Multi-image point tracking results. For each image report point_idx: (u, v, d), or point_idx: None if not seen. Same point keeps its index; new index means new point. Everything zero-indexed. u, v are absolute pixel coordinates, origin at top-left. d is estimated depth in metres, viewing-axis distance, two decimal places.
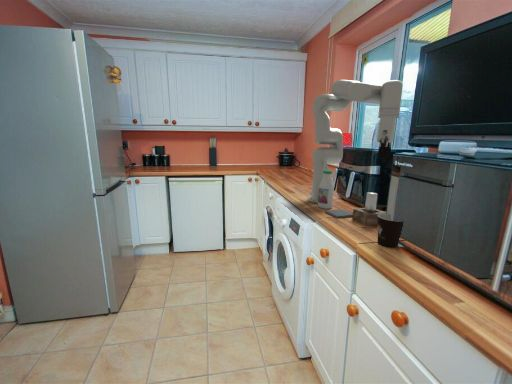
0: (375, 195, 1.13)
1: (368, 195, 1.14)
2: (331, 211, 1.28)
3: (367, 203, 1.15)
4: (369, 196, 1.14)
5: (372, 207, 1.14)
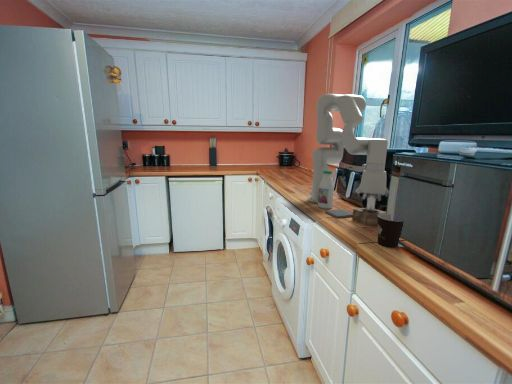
0: (375, 195, 1.13)
1: (368, 195, 1.14)
2: (331, 211, 1.28)
3: (367, 203, 1.15)
4: (369, 196, 1.14)
5: (372, 207, 1.14)
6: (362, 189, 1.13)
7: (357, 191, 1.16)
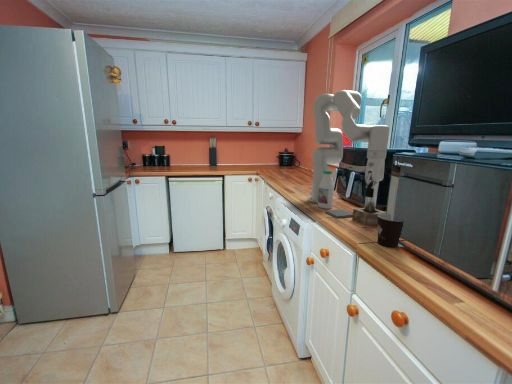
0: None
1: (375, 183, 1.12)
2: (331, 211, 1.28)
3: (374, 191, 1.12)
4: (376, 184, 1.12)
5: (376, 194, 1.14)
6: (376, 178, 1.09)
7: (369, 182, 1.09)
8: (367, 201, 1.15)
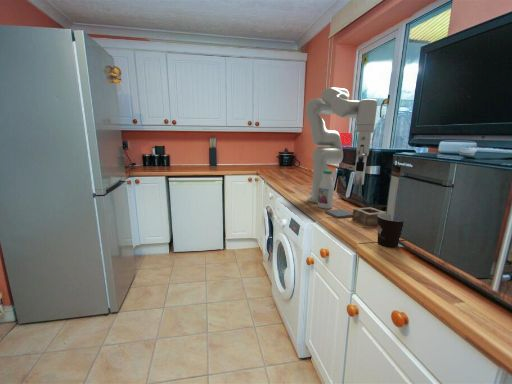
0: None
1: (365, 157, 1.14)
2: (331, 211, 1.28)
3: (364, 165, 1.15)
4: (365, 158, 1.14)
5: None
6: (368, 152, 1.11)
7: (362, 155, 1.10)
8: (357, 175, 1.16)
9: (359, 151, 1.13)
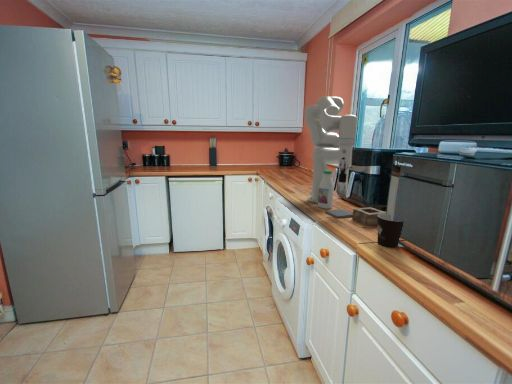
0: None
1: (347, 169, 1.21)
2: (331, 211, 1.28)
3: (346, 177, 1.21)
4: (347, 169, 1.21)
5: None
6: (349, 164, 1.17)
7: (343, 167, 1.17)
8: (340, 186, 1.22)
9: (341, 163, 1.19)
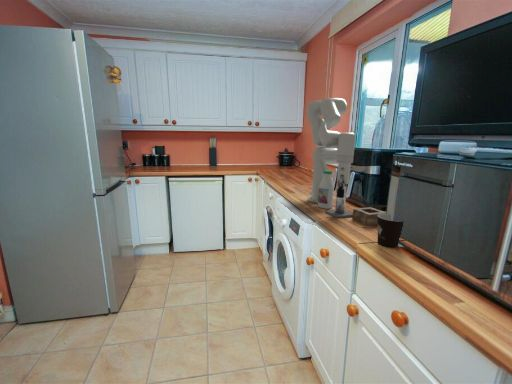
0: None
1: (344, 188, 1.23)
2: (331, 211, 1.28)
3: (344, 196, 1.23)
4: (345, 189, 1.23)
5: None
6: (347, 181, 1.19)
7: (341, 182, 1.17)
8: (338, 205, 1.25)
9: (339, 179, 1.21)
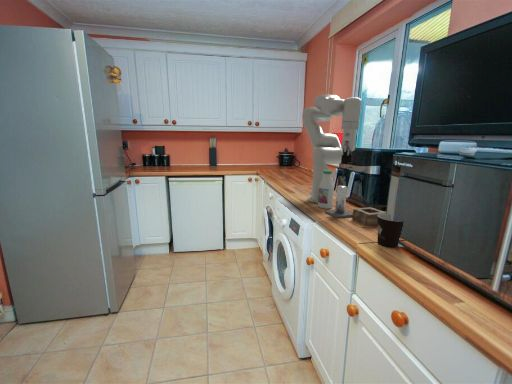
0: None
1: (345, 188, 1.23)
2: (331, 211, 1.28)
3: (344, 196, 1.23)
4: (345, 189, 1.23)
5: None
6: (352, 147, 1.17)
7: (346, 147, 1.15)
8: (338, 205, 1.25)
9: None
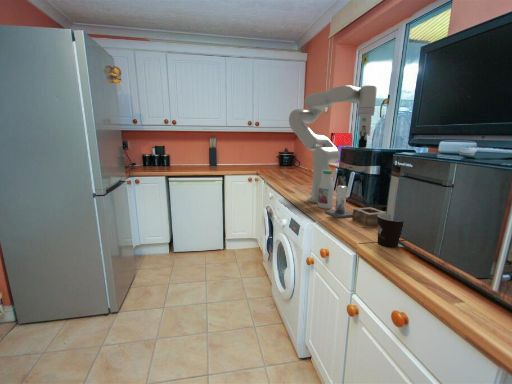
0: None
1: (345, 188, 1.23)
2: (331, 211, 1.28)
3: (344, 196, 1.23)
4: (345, 189, 1.23)
5: None
6: (369, 132, 1.24)
7: (364, 131, 1.21)
8: (338, 205, 1.25)
9: (361, 130, 1.25)
